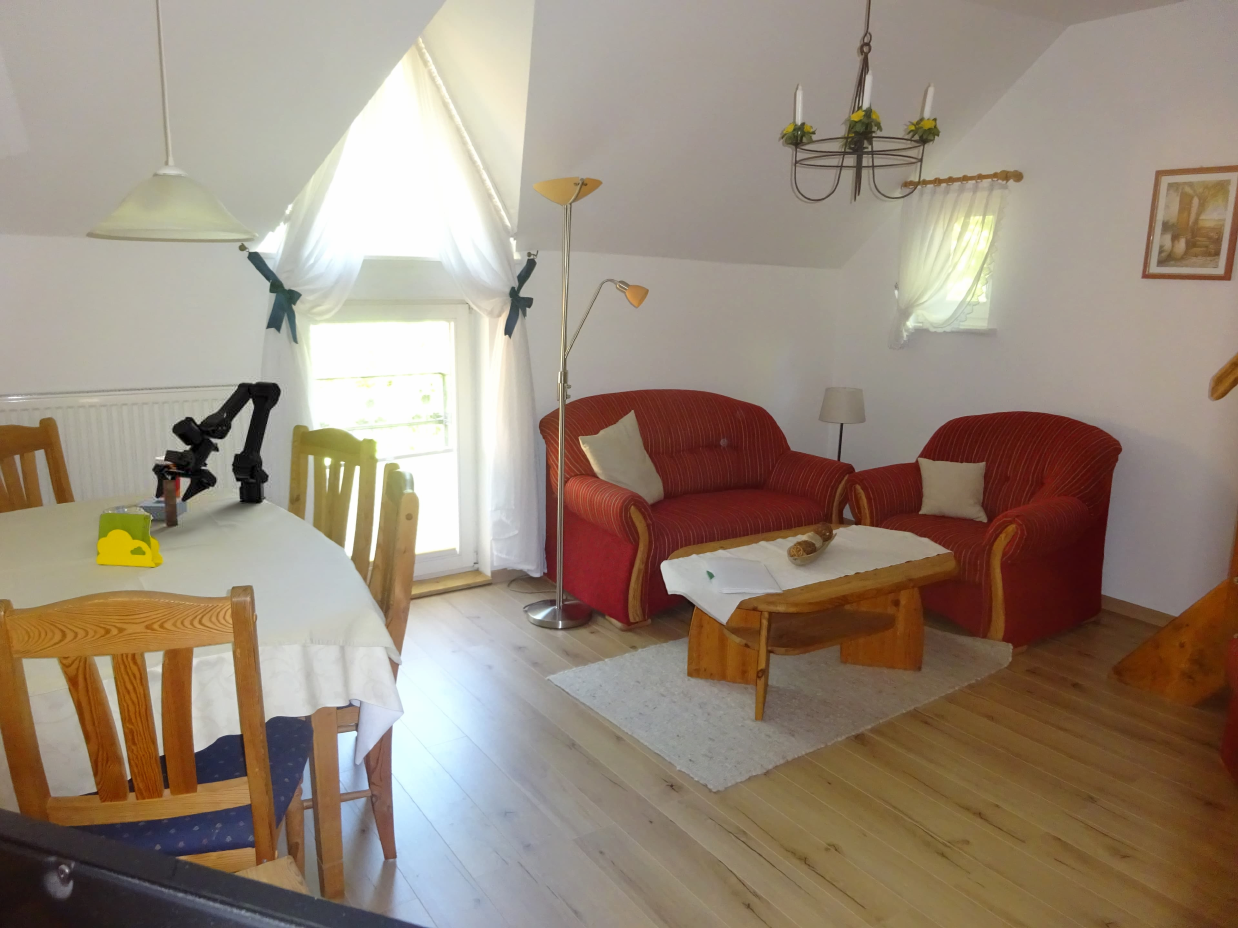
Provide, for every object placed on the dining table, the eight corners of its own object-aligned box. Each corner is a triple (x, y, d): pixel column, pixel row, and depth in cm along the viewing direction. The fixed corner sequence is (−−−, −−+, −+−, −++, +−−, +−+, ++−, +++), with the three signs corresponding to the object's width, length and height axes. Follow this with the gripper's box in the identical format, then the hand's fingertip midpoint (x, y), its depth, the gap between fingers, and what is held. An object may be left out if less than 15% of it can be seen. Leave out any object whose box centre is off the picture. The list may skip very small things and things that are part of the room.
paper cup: (150, 501, 266) (147, 458, 263) (170, 496, 273) (167, 454, 271) (170, 504, 264) (167, 460, 261) (189, 499, 271) (187, 456, 268)
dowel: (179, 523, 243) (176, 479, 241) (175, 526, 240) (172, 482, 238) (168, 523, 243) (165, 479, 240) (164, 526, 240) (161, 481, 238)
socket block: (187, 510, 257) (186, 498, 256) (173, 519, 247) (172, 506, 246) (152, 510, 256) (151, 497, 255) (137, 519, 246) (136, 505, 245)
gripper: (154, 436, 244) (125, 480, 236) (207, 441, 239) (179, 487, 231) (177, 458, 253) (150, 501, 245) (229, 464, 248) (202, 508, 240)
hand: (169, 499), depth 240 cm, fingers open, 9 cm apart
